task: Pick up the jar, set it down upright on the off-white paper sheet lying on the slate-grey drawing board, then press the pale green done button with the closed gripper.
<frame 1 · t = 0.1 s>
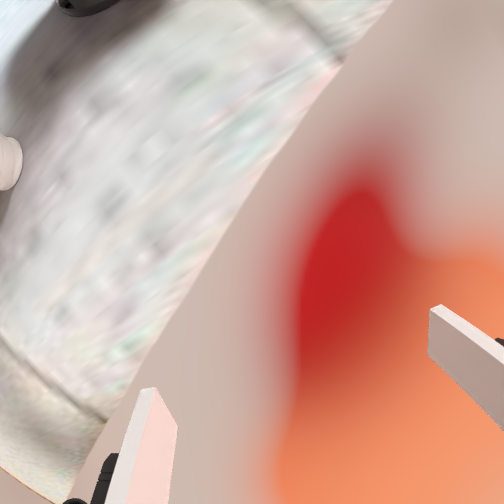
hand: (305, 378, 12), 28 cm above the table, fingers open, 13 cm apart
jar: (7, 163, 33), on the table
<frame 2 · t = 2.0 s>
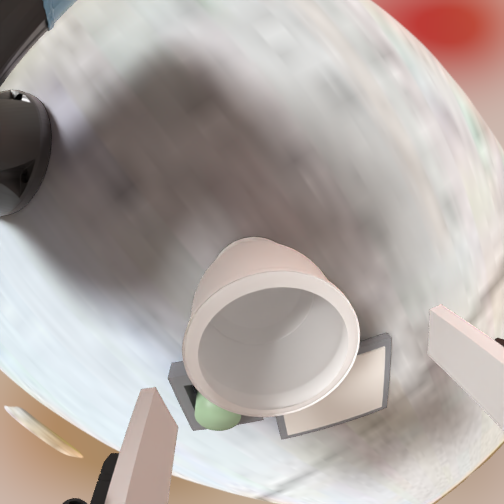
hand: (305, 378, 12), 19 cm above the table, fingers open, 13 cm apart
board: (332, 389, 35), on the table
done button: (217, 406, 30), point 4 cm above the table, slide at 0.0 cm
button housing: (218, 385, 34), on the table
jar: (253, 275, 31), on the table
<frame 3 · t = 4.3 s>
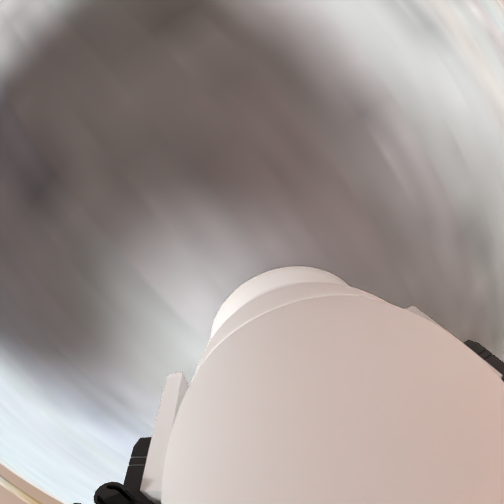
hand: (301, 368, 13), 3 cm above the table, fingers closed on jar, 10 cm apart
jar: (288, 335, 16), on the table, touching gripper
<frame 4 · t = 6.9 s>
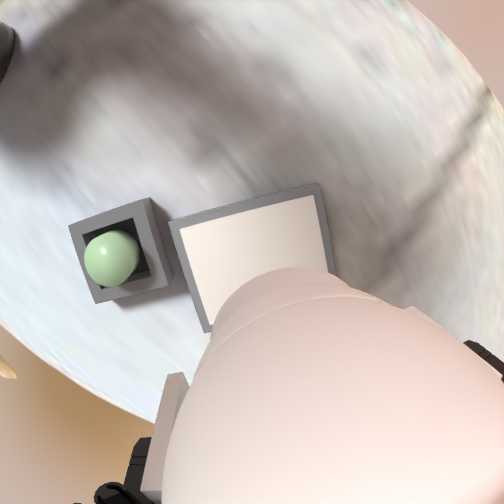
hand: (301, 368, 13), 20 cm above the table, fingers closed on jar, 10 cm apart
board: (258, 259, 32), on the table
done button: (112, 257, 27), point 4 cm above the table, slide at 0.0 cm
button housing: (124, 248, 31), on the table
jar: (289, 336, 16), point 17 cm above the table, touching gripper
when the fingers open (6 cm above the table, at t = 10.1 s): jar drops 2 cm, resting on board.
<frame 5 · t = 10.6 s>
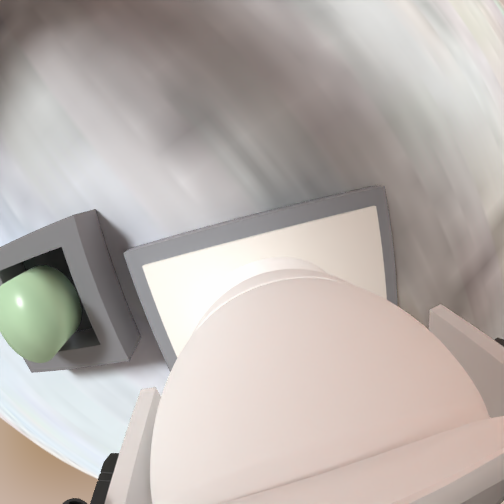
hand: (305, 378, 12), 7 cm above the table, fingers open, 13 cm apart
board: (279, 311, 19), on the table
done button: (37, 312, 14), point 4 cm above the table, slide at 0.0 cm
button housing: (64, 291, 18), on the table
jar: (275, 321, 18), point 1 cm above the table, touching board
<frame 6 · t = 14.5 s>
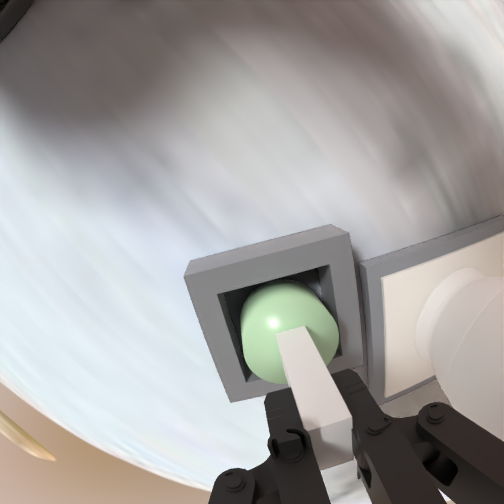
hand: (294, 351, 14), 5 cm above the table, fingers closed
board: (446, 308, 21), on the table
done button: (286, 331, 16), point 3 cm above the table, slide at 0.6 cm, touching gripper
button housing: (277, 307, 19), on the table
jar: (451, 315, 20), point 1 cm above the table, touching board
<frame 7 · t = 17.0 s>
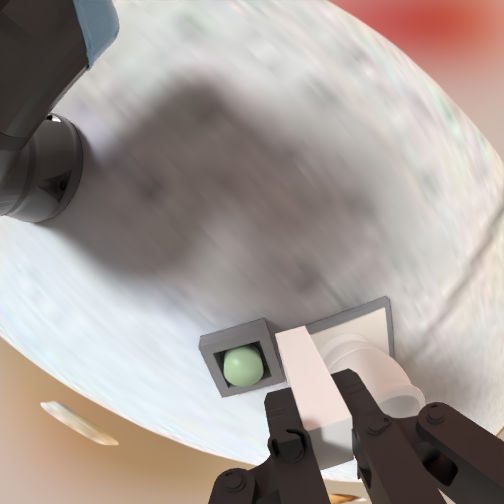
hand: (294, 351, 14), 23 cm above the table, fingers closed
board: (342, 351, 41), on the table
done button: (243, 364, 37), point 3 cm above the table, slide at 1.1 cm
button housing: (242, 354, 40), on the table
jar: (342, 356, 40), point 1 cm above the table, touching board
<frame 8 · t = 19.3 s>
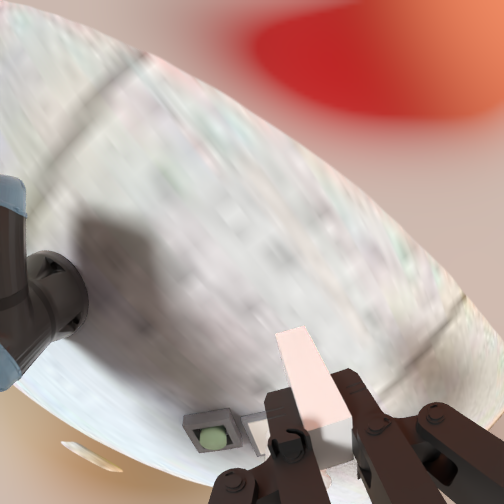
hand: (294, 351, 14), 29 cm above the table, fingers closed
board: (287, 427, 52), on the table
done button: (213, 436, 48), point 3 cm above the table, slide at 1.1 cm
button housing: (213, 426, 51), on the table
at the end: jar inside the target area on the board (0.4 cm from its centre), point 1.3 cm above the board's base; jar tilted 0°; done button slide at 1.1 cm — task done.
